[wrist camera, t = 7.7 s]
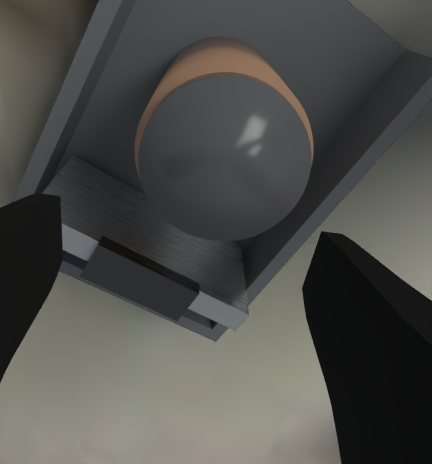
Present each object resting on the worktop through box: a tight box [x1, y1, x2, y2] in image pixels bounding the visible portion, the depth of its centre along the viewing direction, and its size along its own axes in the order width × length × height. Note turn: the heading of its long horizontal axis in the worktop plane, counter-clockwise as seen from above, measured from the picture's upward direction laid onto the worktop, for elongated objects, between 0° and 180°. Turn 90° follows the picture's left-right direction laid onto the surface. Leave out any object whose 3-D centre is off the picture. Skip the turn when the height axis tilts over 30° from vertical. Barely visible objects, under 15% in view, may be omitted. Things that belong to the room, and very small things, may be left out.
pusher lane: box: [12, 0, 432, 342], centre depth 17 cm, size 11×15×4 cm
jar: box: [135, 37, 313, 241], centre depth 14 cm, size 5×5×7 cm
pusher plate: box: [42, 155, 249, 330], centre depth 17 cm, size 9×2×6 cm, turn 57°
